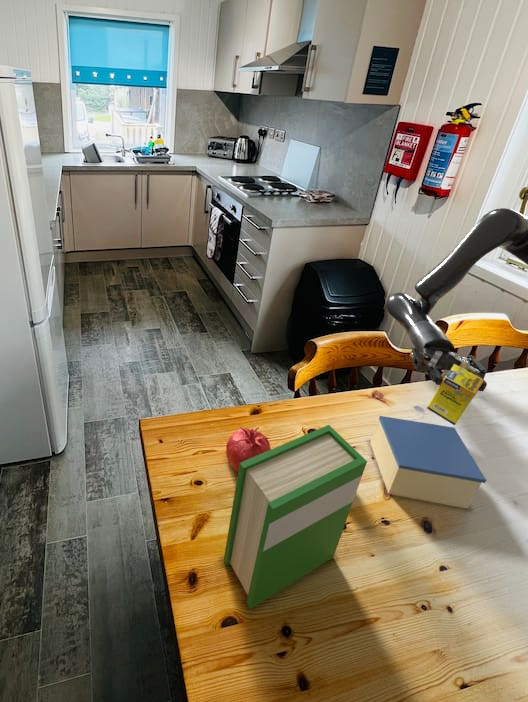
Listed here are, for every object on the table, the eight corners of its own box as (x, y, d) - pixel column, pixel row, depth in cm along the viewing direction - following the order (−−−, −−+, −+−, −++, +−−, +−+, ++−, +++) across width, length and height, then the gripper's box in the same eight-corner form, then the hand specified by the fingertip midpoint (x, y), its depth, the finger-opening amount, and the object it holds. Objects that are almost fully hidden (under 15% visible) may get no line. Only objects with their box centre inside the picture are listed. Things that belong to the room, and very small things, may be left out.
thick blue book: (438, 455, 88) (449, 429, 85) (467, 510, 77) (481, 482, 74) (369, 443, 91) (378, 418, 87) (387, 495, 79) (398, 468, 76)
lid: (453, 430, 85) (454, 427, 85) (485, 483, 74) (486, 480, 73) (378, 418, 87) (379, 415, 87) (398, 468, 76) (399, 465, 76)
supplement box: (454, 426, 87) (476, 394, 81) (425, 408, 91) (444, 376, 85) (463, 411, 91) (485, 379, 85) (435, 394, 94) (454, 363, 88)
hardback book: (249, 610, 61) (272, 509, 51) (223, 561, 67) (239, 462, 57) (332, 558, 68) (367, 461, 58) (302, 519, 74) (328, 424, 64)
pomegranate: (249, 494, 78) (255, 461, 74) (215, 458, 85) (219, 426, 82) (281, 469, 84) (289, 437, 80) (247, 437, 91) (252, 406, 87)
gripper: (404, 325, 100) (431, 366, 85) (465, 332, 98) (504, 376, 83) (396, 349, 103) (421, 393, 88) (455, 357, 101) (491, 403, 86)
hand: (461, 385), depth 86 cm, fingers closed on supplement box, 8 cm apart
